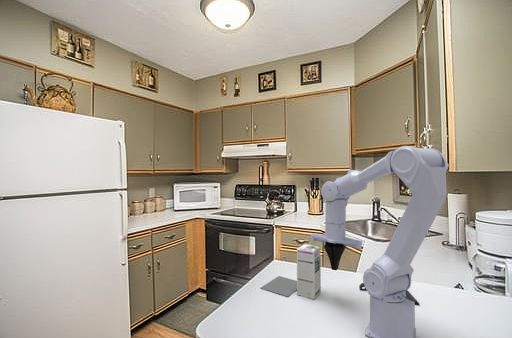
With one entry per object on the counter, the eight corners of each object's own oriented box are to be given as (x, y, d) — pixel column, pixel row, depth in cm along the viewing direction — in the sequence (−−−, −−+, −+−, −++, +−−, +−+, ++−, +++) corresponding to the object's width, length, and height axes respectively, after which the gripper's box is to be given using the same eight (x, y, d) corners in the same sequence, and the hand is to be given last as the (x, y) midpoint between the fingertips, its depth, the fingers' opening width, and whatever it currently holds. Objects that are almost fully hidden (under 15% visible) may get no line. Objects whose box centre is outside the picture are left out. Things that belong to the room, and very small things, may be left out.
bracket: (355, 282, 91) (355, 274, 91) (401, 286, 89) (401, 278, 89) (364, 302, 77) (364, 293, 77) (419, 308, 74) (419, 298, 74)
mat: (304, 283, 88) (304, 282, 88) (288, 297, 78) (288, 296, 78) (278, 276, 94) (278, 275, 94) (260, 288, 84) (260, 287, 84)
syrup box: (314, 300, 77) (315, 250, 77) (296, 294, 80) (296, 247, 80) (320, 292, 81) (321, 246, 82) (303, 288, 85) (303, 243, 85)
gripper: (306, 221, 77) (306, 267, 77) (357, 228, 69) (357, 279, 69) (315, 218, 83) (315, 261, 83) (363, 224, 75) (363, 271, 75)
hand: (334, 269), depth 76 cm, fingers closed
